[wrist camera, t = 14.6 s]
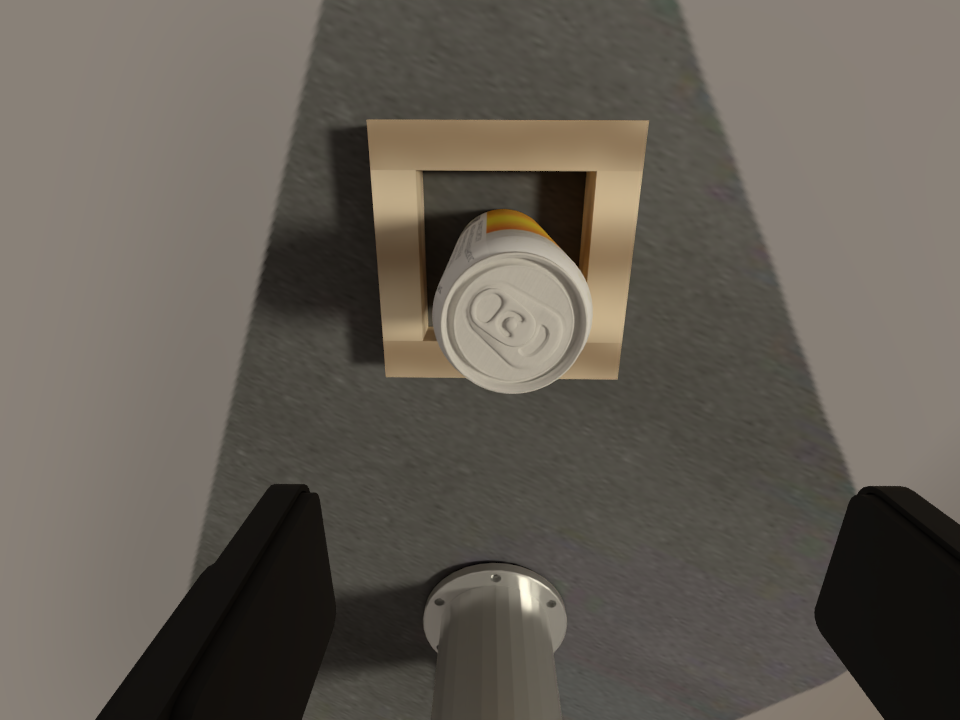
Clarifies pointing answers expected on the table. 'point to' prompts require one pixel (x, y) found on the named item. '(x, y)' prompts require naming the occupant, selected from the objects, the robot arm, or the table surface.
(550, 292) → the beer can
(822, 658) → the table surface
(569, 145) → the can holder
